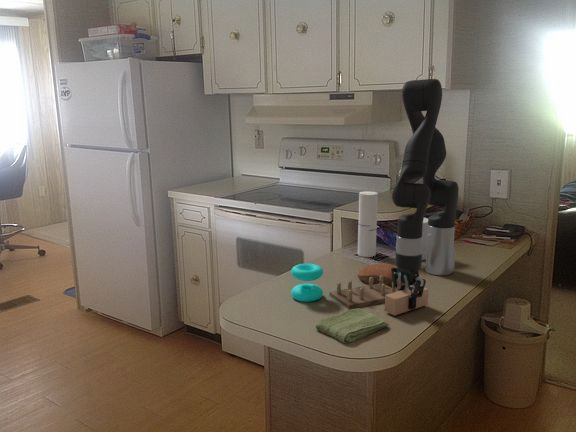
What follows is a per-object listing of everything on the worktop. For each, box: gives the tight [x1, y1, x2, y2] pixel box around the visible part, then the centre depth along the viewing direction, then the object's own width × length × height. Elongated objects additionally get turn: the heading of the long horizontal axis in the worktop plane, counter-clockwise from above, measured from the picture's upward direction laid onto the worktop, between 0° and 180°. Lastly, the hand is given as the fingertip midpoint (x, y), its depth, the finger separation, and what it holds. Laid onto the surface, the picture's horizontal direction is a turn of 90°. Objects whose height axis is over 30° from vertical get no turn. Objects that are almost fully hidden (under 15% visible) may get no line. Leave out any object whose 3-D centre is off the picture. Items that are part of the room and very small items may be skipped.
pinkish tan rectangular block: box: [384, 286, 429, 316], centre depth 161 cm, size 14×4×5 cm, turn 124°
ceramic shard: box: [356, 263, 398, 286], centre depth 189 cm, size 15×6×15 cm
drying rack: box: [329, 275, 397, 310], centre depth 172 cm, size 20×12×5 cm, turn 114°
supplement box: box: [422, 217, 429, 261], centre depth 212 cm, size 9×9×15 cm
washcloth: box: [315, 307, 389, 344], centre depth 149 cm, size 13×18×3 cm
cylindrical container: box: [357, 190, 379, 258], centre depth 214 cm, size 7×7×25 cm
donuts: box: [290, 263, 324, 303], centre depth 171 cm, size 10×10×10 cm
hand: (406, 305), depth 162 cm, fingers closed on pinkish tan rectangular block, 4 cm apart
